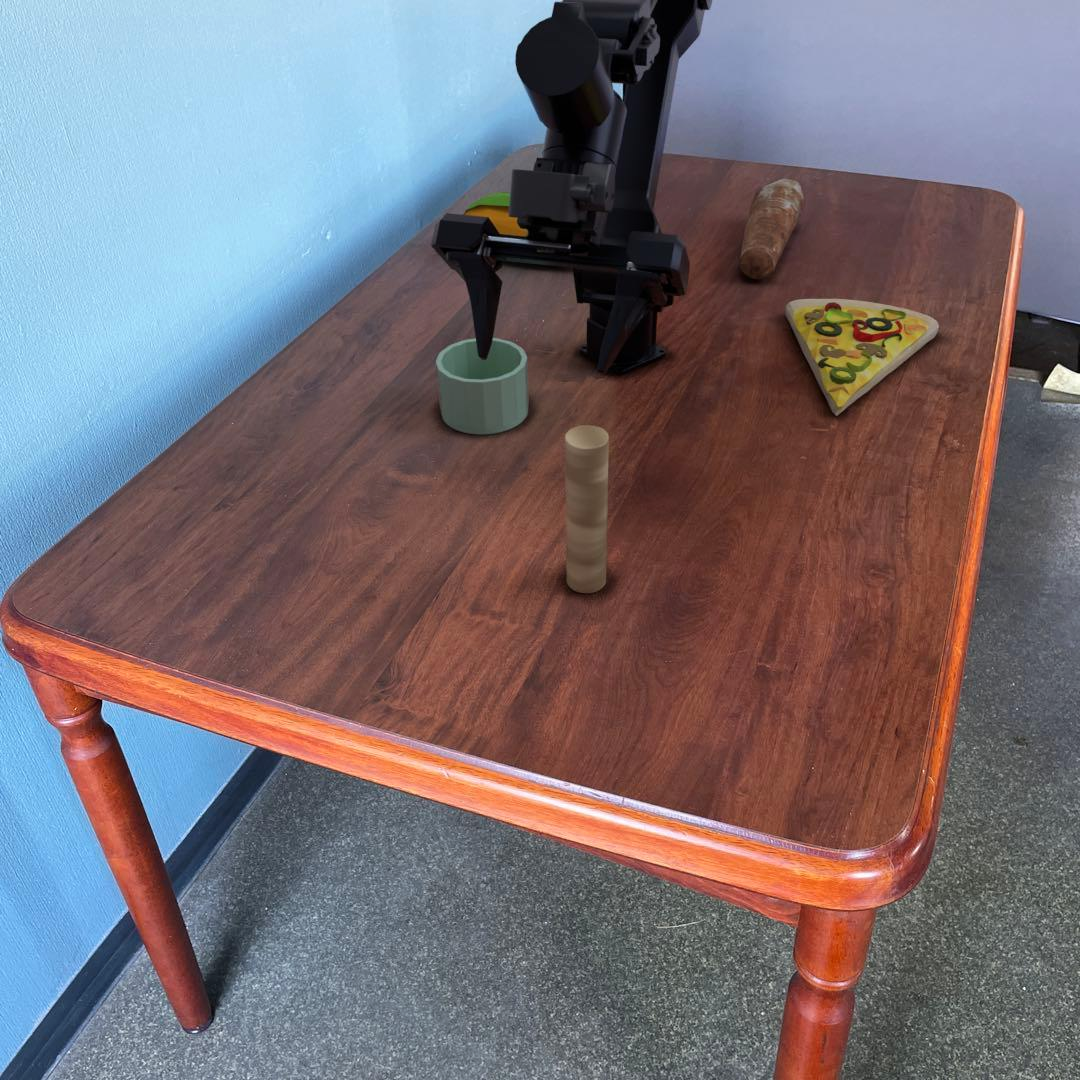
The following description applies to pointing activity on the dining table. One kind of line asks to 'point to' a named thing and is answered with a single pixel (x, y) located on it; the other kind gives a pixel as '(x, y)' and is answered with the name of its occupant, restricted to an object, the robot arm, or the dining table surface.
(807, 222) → the dining table surface
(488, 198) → the corn
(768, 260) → the bread
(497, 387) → the cup
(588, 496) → the dowel
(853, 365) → the pizza slice
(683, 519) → the dining table surface
